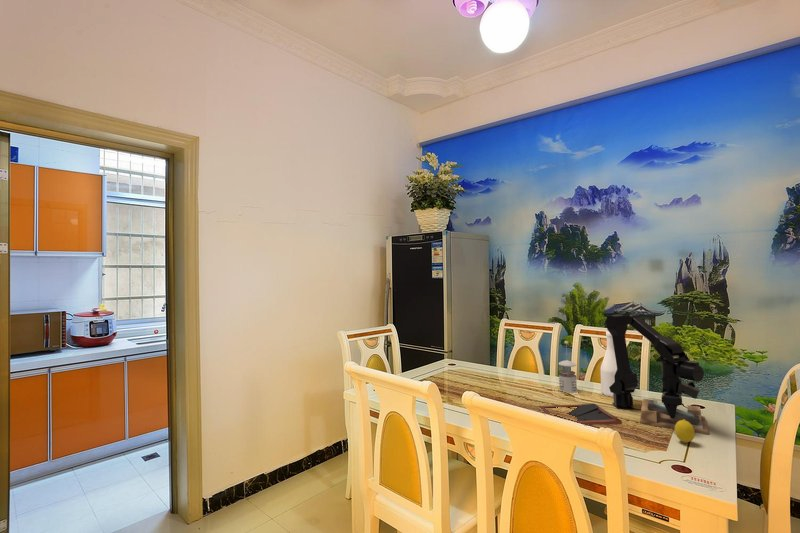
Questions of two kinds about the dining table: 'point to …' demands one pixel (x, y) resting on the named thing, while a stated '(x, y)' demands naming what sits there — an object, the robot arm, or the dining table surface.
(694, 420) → the picture frame
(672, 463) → the dining table surface
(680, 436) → the lemon
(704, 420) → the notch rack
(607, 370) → the wine bottle
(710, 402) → the dining table surface
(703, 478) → the dining table surface
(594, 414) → the picture frame
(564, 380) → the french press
